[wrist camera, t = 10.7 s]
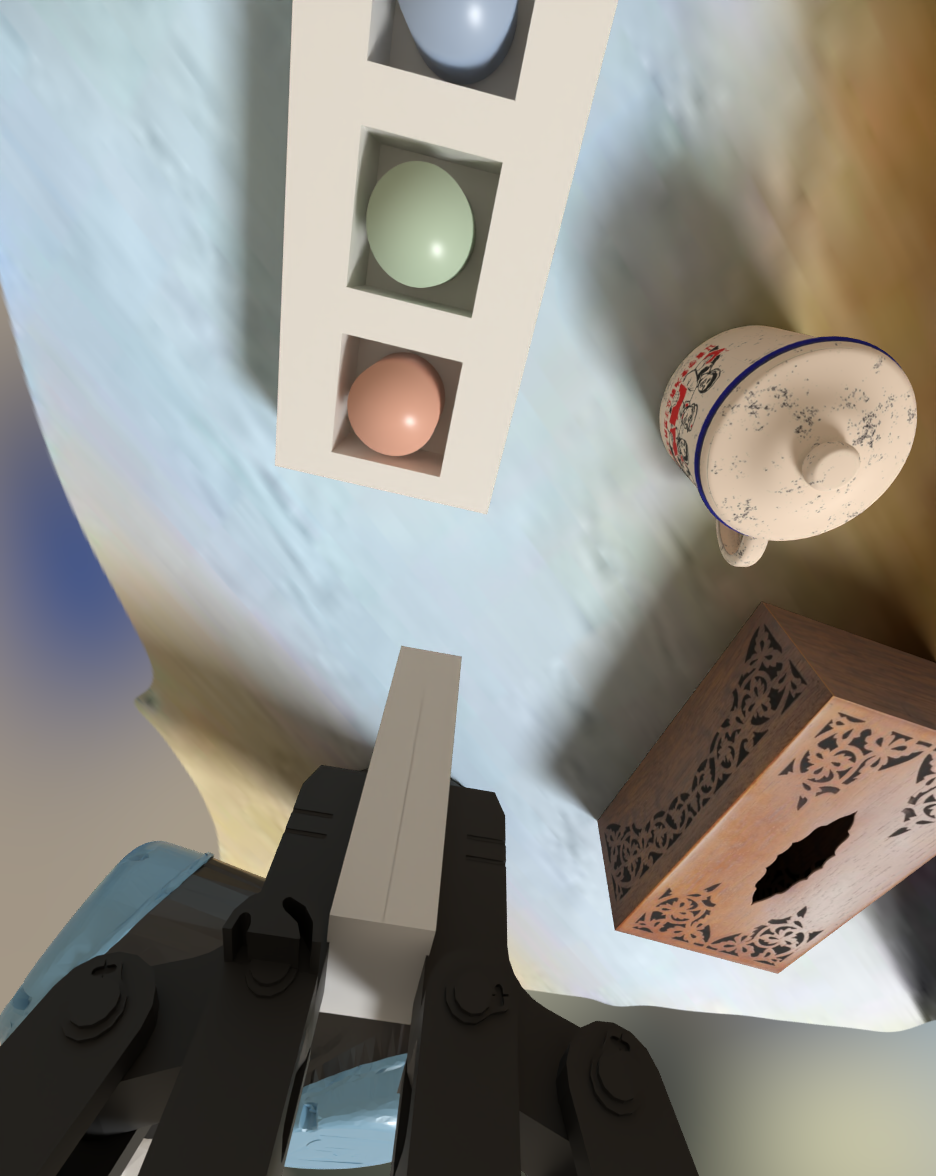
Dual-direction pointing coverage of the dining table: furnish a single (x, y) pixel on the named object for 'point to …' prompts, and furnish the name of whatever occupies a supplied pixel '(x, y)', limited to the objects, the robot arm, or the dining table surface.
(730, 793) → the tissue box cover
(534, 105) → the tray
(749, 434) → the teacup with lid
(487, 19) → the button slate
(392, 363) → the button terracotta
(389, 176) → the button sage
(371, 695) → the dining table surface
